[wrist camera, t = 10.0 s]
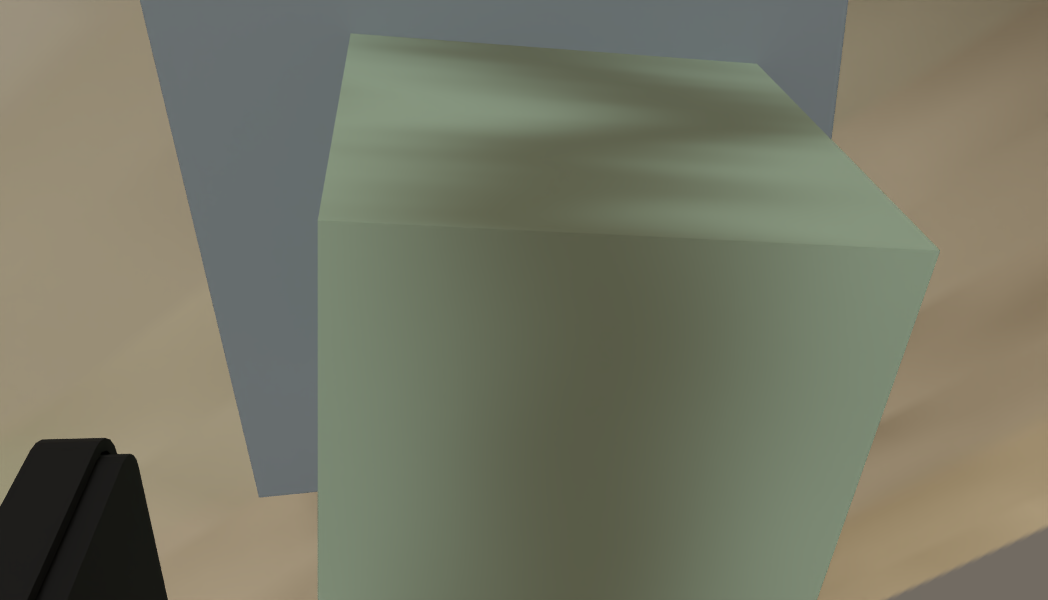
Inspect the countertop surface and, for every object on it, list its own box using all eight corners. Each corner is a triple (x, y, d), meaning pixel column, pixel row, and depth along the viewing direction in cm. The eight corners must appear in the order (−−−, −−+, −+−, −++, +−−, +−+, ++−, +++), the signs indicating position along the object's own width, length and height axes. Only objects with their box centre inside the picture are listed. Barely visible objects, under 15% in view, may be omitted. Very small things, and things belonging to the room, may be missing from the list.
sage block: (757, 63, 15) (940, 251, 10) (683, 390, 18) (793, 664, 13) (350, 33, 14) (318, 221, 9) (345, 381, 17) (318, 670, 12)
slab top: (772, -159, 17) (863, -127, 14) (734, 331, 22) (794, 443, 19) (181, -124, 16) (120, -79, 13) (283, 372, 22) (259, 497, 18)
